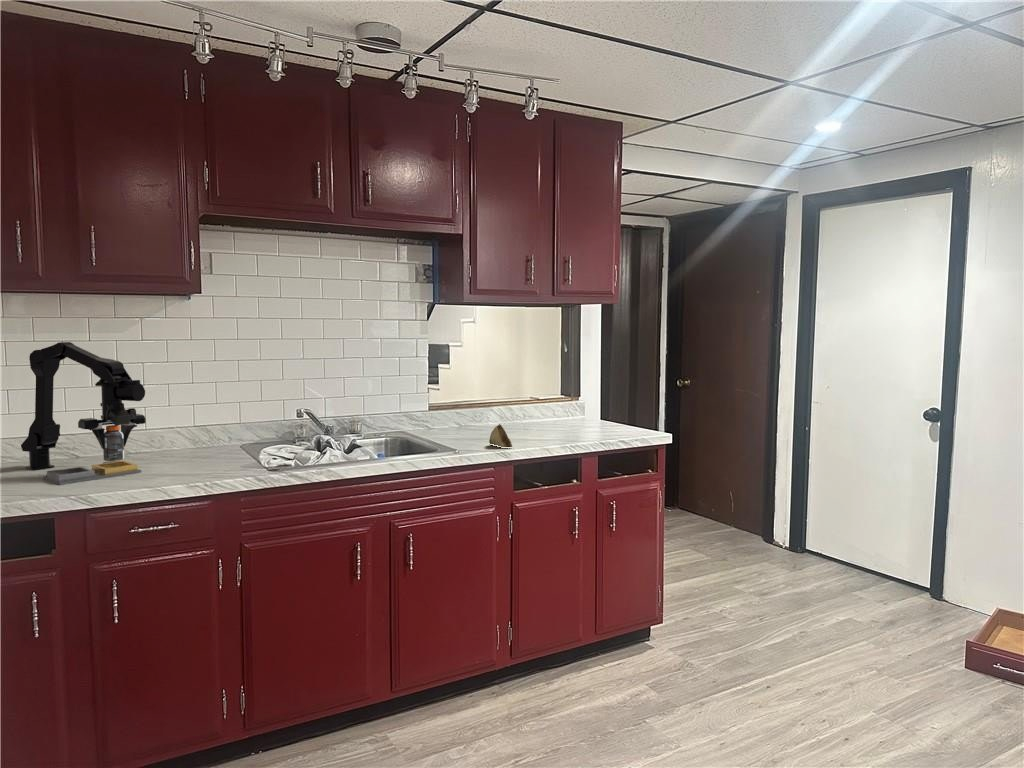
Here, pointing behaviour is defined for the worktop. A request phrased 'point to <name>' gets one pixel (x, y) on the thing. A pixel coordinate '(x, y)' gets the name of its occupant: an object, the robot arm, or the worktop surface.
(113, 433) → the pill bottle
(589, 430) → the worktop surface
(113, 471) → the faceplate
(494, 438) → the rock
